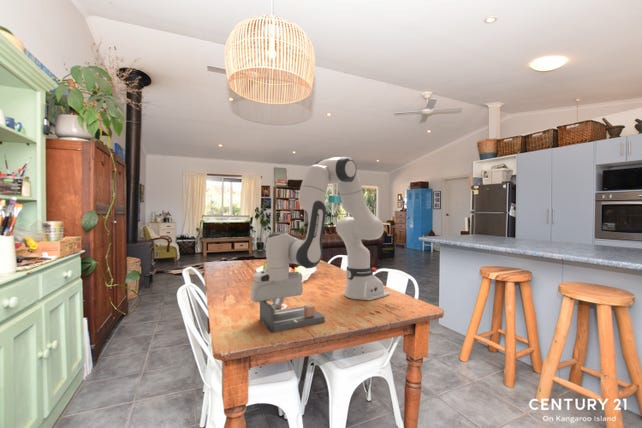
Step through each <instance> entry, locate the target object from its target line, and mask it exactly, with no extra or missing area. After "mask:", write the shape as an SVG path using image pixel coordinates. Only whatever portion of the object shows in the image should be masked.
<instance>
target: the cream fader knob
mask: <svg viewBox="0 0 642 428" xmlns="http://www.w3.org/2000/svg"><path fill="white" fill-rule="evenodd" d="M268 304H269V305H270V306H271V307H272V308H273V309H274V315H275V311H276V310H275V305H274V304H273V303H272V302H271V303H268Z"/></svg>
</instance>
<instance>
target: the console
mask: <svg viewBox="0 0 642 428" xmlns="http://www.w3.org/2000/svg"><path fill="white" fill-rule="evenodd" d="M269 304H270V303H268V302H267V300H265V301H259V320H260V321H261V323H263V325H264V326H265V327H266V329H268V331H269V332H270V333H276V332H281V331H285V330H290V329H291V330H292V329H296V328H300V327H306V326H310V325H316V324H321V323H325V321H326V320H325V319H326V318H325V316H324V315H323V314H322V313H320V312H319V311H317V310H316V309H315V316H311V317H307V316H305V315H304V306H298V307H293V308H285V309H281V310H275V315H274V309H273V308H272V307H271V306H270V305H269Z"/></svg>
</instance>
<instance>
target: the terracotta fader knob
mask: <svg viewBox="0 0 642 428" xmlns="http://www.w3.org/2000/svg"><path fill="white" fill-rule="evenodd" d="M303 307H304V315H305V316H307V317H311V316H315V310H316V309H315V306H314V304H311V303H310V304H304V305H303Z"/></svg>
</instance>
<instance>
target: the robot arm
mask: <svg viewBox="0 0 642 428" xmlns="http://www.w3.org/2000/svg"><path fill="white" fill-rule="evenodd" d="M357 171H358V170H357V165H356V163H355V161H354V159H352V158H351V157H347V156H341V157H340V156H336V157H335V156H333V157H330V158H326V159H320V160H317V161H315V163H314V164H312V165H310V166H309V167H308V168H307V170H306V172H305V174H304V177H303V179H302V181H301V184H300V189H299V192H298V198H297V199H298V204H299V206H300V208H302V209H303V210H304V211H306V213H307V215H308V225H307V230H306V236H305V239H299V238H297V237H294V236H292V235H291V234H288V232H287V231H275V232H271V233H270V234H269V235H267V238H266V239H267V240H266V245H265V256H266V265H265V268H264V269H263V270H260V271H257V272H255V273H254V274H253V279H254V280H253V281H252V283H251V286H250V287H251V288H250V298H251V301H253V302H255V303H257V302H260V301H270V300H271V303H273V304H274V305H275V311H280V310H279V309H281V310H282V306H283V305H282V304H284V301H285V298H291V297H297V296H301V295H302V294H303V290H304V289H303V282H302V281H303V274H302V273H301V272H300V271H295V272H293V271H292V272H290V264H291V263H293V264H296V265H299V266H301V267H303V268H305V269H312V268H314V267H316V266H317V265H319V263H320V262H321V260H322V257H323V236H324V229H325V222H326V215H327V214H326V213H327V211H326V210H327V209H326V204H325V202H326V201H325V200H326V196H327V192H328V187H329V184H335V183H336V184H337V186H338V192H339V197H340V201H341V206H342V208H343V210H344V211H345V212H346V213H348V214H349V215H351V216H344V217H340V218H338V220H337V221H336V223H335V231H336V234H337V235H338V236H339V237H340V238H341V240H342V241H343V243H344V245H345V248H346V249H345V250H346V255H347V258H346V259H347V266H346V284H345V290H344V294H343V295H344V296H345V297H347V299H348V298H349V299H353V300H361V301H362V300H363V301H373V300H376V299H379V298H383V297H387V296H389V291H387V290H385V286H384V283H383V282H382V280H380V278H378V277H377V276H376V275H374V273H376V272H377V267H371V253H370V252H371V251H370V250H369V249H368V248H367V247H366V246H365V245H364V244H363V242H362V240H367V241H372V240H378V239H379V240H380V238H381V237H382V236H383V234H384V232H385V226H384V223H383V221H382V220H381V219H380V218H378V217H377V216H376V215H375V214H374V213H373V212H372V211H371V210H370V208H369V207H368V204H367V202H366V198H365V196H364V195H365V194H364V189H363V186H362V183H361V179H360V175H359V173H358V172H357ZM373 272H374V273H373ZM278 298H279V300H280V301H279V303H278V304H276V303H275V302H276V299H278Z"/></svg>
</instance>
